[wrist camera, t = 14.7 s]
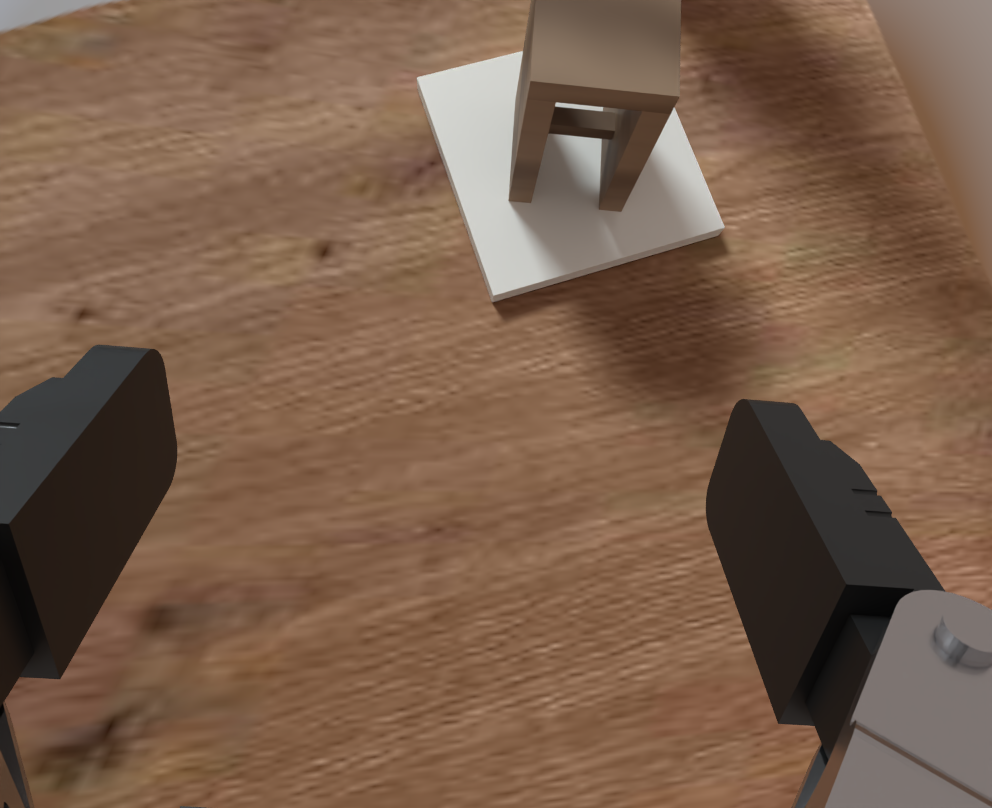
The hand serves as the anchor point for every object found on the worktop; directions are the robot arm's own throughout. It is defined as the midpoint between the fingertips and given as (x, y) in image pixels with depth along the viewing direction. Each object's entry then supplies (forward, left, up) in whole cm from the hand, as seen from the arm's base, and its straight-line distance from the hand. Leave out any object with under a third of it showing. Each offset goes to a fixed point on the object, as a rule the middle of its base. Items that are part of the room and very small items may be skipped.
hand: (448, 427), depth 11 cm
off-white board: (+12, +17, -27) cm, 34 cm away
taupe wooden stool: (+12, +17, -26) cm, 33 cm away
